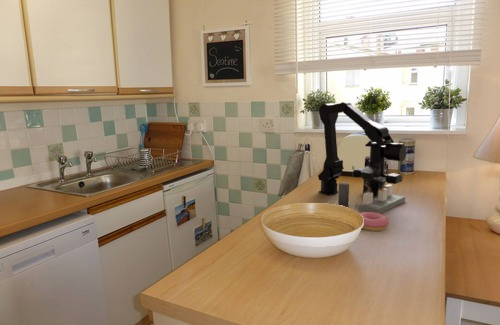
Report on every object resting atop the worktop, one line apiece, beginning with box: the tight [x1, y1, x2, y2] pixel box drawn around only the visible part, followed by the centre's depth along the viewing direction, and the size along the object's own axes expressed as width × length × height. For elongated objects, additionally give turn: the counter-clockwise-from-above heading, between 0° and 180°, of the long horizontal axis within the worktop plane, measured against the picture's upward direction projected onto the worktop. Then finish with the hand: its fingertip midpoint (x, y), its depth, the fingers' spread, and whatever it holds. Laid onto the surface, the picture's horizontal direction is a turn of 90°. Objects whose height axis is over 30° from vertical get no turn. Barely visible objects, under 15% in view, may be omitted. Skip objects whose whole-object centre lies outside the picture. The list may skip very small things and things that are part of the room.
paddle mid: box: [377, 188, 388, 201], centre depth 146 cm, size 2×4×4 cm, turn 133°
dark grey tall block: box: [337, 182, 350, 207], centre depth 146 cm, size 4×4×9 cm
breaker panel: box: [358, 193, 406, 214], centre depth 146 cm, size 8×22×2 cm, turn 133°
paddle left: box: [362, 192, 374, 205], centre depth 142 cm, size 2×4×4 cm, turn 133°
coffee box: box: [362, 155, 388, 196], centre depth 162 cm, size 9×6×16 cm
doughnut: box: [359, 211, 390, 232], centre depth 125 cm, size 11×11×4 cm
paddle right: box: [384, 183, 394, 196], centre depth 153 cm, size 2×4×4 cm, turn 133°
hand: (375, 196), depth 148 cm, fingers closed
